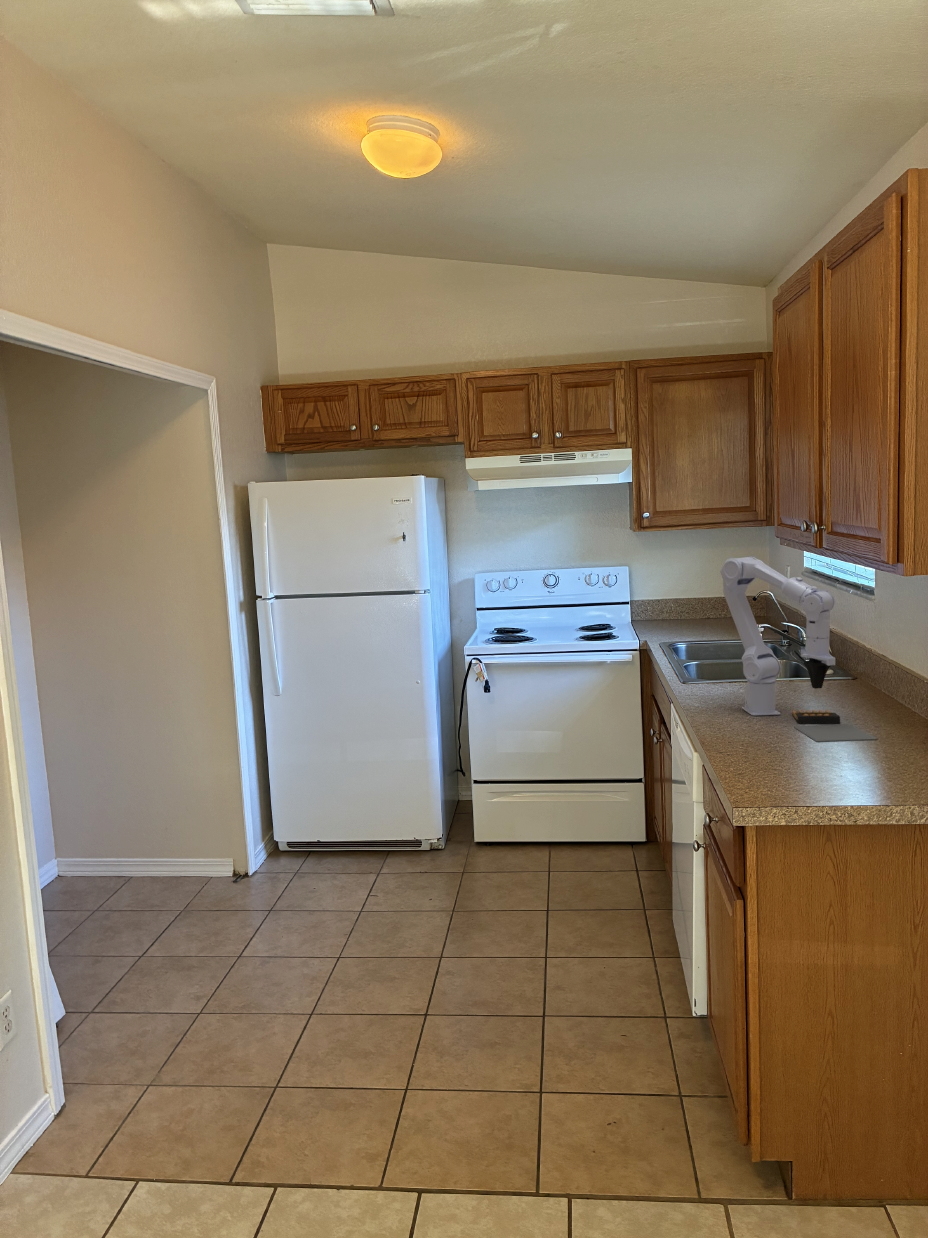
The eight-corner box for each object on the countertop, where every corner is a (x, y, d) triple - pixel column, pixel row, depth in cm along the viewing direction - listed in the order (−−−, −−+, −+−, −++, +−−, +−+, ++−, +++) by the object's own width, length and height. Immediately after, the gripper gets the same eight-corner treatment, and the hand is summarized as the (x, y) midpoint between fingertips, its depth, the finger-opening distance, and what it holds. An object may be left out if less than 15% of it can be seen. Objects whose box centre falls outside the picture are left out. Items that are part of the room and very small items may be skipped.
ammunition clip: (840, 723, 245) (829, 714, 256) (840, 716, 244) (829, 707, 256) (797, 723, 246) (789, 714, 258) (798, 716, 246) (789, 707, 258)
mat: (793, 727, 243) (793, 726, 243) (850, 725, 243) (850, 724, 243) (816, 742, 228) (816, 741, 228) (877, 740, 228) (877, 738, 228)
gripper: (790, 634, 250) (789, 683, 252) (817, 641, 236) (816, 694, 238) (814, 632, 251) (814, 682, 253) (843, 640, 237) (842, 692, 239)
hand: (817, 687), depth 246 cm, fingers closed
